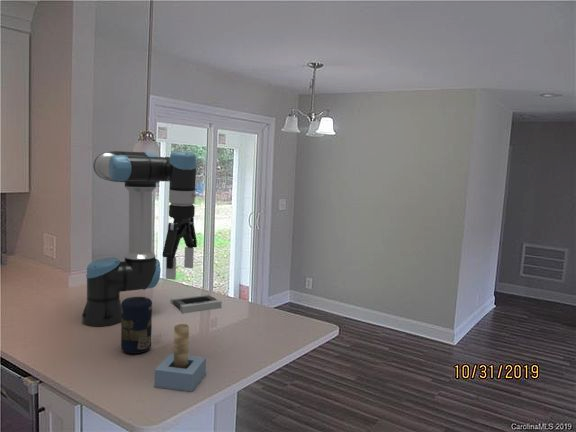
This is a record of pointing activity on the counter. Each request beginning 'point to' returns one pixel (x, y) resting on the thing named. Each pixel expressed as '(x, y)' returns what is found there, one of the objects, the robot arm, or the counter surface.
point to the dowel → (181, 346)
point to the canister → (136, 324)
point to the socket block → (180, 374)
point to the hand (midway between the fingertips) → (180, 273)
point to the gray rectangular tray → (196, 303)
